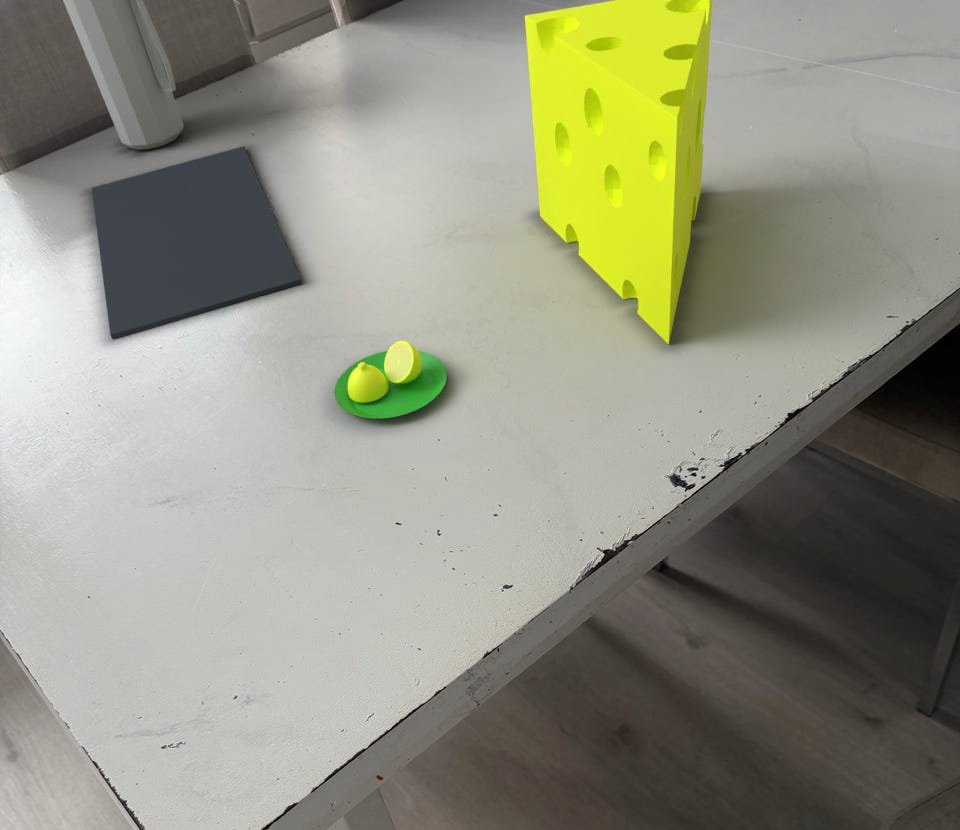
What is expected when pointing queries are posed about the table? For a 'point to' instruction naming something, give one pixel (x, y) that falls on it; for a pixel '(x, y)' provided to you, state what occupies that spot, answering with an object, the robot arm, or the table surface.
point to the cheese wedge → (622, 138)
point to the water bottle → (129, 69)
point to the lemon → (390, 382)
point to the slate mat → (187, 242)
